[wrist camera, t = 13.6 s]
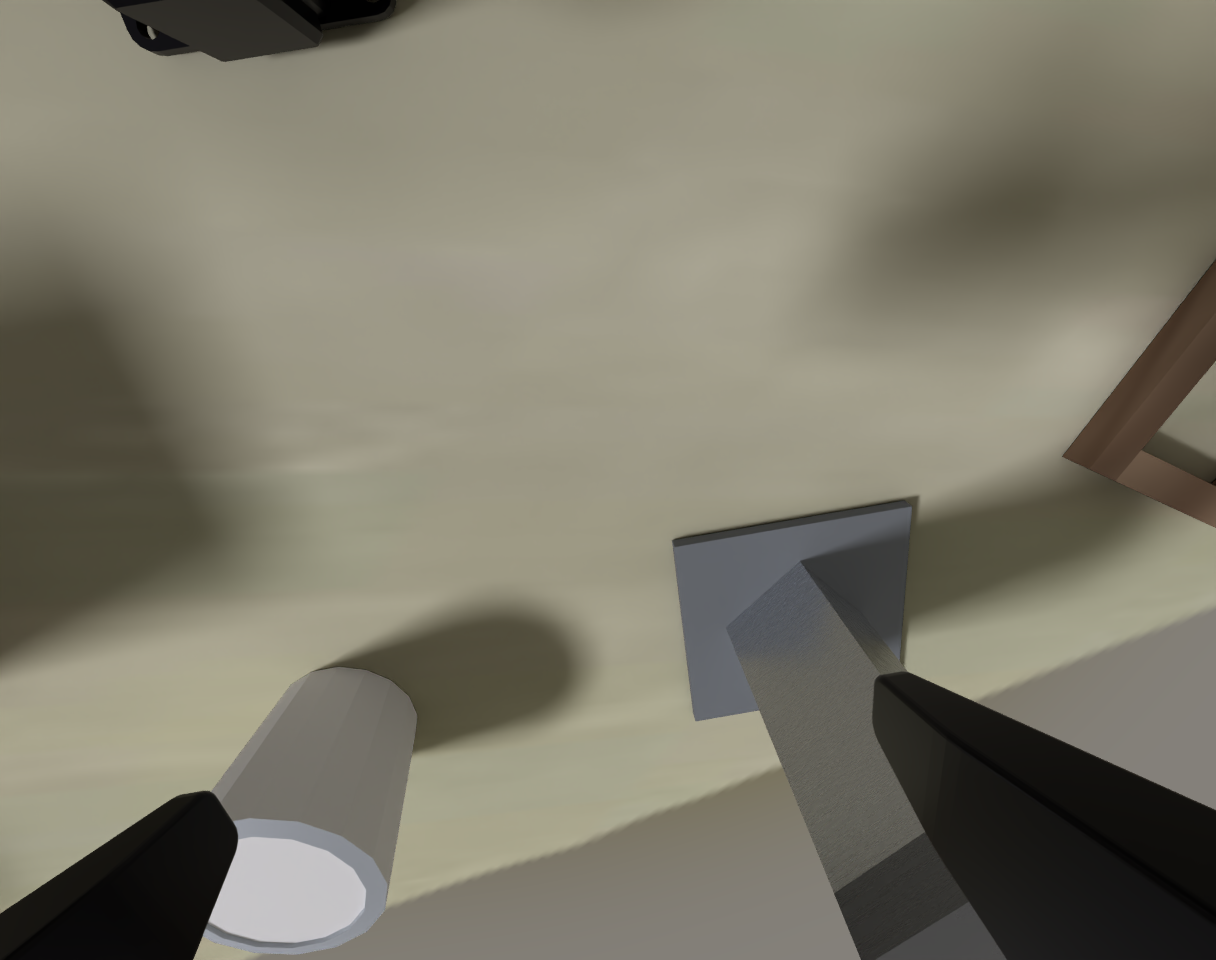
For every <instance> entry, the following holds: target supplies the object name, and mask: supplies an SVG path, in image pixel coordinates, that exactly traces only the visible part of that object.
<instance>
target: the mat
mask: <svg viewBox="0 0 1216 960" xmlns="http://www.w3.org/2000/svg"><path fill="white" fill-rule="evenodd" d="M911 514H912V506H911V505H910V504H908V503H907V502H906V501H899V502H893V503H887V504H881V505H876V506H870V507H864V508H858V509H852V510H846V511H841V512H835V513H829V514H823V515H817V516H811V517H806V518H800V519H794V520H788V521H782V522H777V523H771V524H765V525H759V526H753V527H747V528H742V529H736V530H730V531H724V532H718V533H712V534H707V535H701V536H695V537H689V538H683V539H677V540H672V543H673V551H674V559H675V567H676V576H677V584H678V592H679V600H680V608H681V617H682V625H683V633H684V641H685V649H686V658H687V666H688V674H689V682H690V690H691V699H692V707H693V714H694V717H695V721H700V720H706V719H712V718H717V717H723V716H729V715H735V714H740V713H746V712H752V711H758V710H759V708H758V706H757V703H756V701H755V698H754V696H753V693H752V691H751V689H750V686H749V684H748V681H747V679H746V676H745V674H744V671H743V669H742V666H741V664H740V662H739V659H738V657H737V654H736V652H735V649H734V647H733V644H732V642H731V640H730V637H729V635H728V632H727V630H726V626H728V625H729V624H730V623H731V622H732V621H733V620H734V619H735V618H737V617H738V616H739V615H740V614H741V613H742V612H743V611H744V610H746V609H747V608H748V607H749V606H750V605H751V604H752V603H753V602H754V601H756V600H757V599H758V598H759V597H760V596H761V595H762V594H763V593H765V592H766V591H767V590H768V589H769V588H770V587H771V586H772V585H773V584H775V583H776V582H777V581H778V580H779V579H780V578H781V577H782V576H784V575H785V574H786V573H787V572H788V571H789V570H790V569H791V568H793V567H794V566H795V565H796V564H797V563H798V562H799V561H800V562H801V563H803V564H804V565H805V566H806V567H807V568H809V569H810V570H811V571H812V572H813V573H815V574H816V575H817V576H818V577H819V578H821V579H822V580H823V581H824V582H825V583H827V584H828V585H829V586H830V587H831V588H833V589H834V590H835V591H836V592H837V593H839V594H840V595H841V596H842V597H843V598H845V599H846V600H847V601H848V602H849V603H851V604H852V605H853V606H854V607H855V608H857V609H858V610H859V611H860V612H861V613H863V615H864V616H865V617H866V618H867V620H868V621H869V622H870V624H871V625H872V626H873V627H874V629H875V630H876V631H877V633H878V634H879V635H880V636H881V638H882V639H883V640H884V642H885V643H886V644H887V646H888V647H889V648H890V649H891V651H892V652H893V653H894V655H895V656H896V657H897V658H898V660H899V661H900V649H901V637H902V625H903V612H904V600H905V588H906V575H907V563H908V551H909V539H910V526H911Z"/></svg>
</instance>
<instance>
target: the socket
mask: <svg viewBox="0 0 1216 960" xmlns="http://www.w3.org/2000/svg"><path fill="white" fill-rule="evenodd" d="M1215 361H1216V260H1215V262H1214V263H1213V264H1212V265H1211V267H1210V268H1209V269H1208V271H1207V272H1206V273H1205V274H1204V276H1203V277H1202V278H1201V280H1200V281H1199V282H1198V283H1197V285H1196V286H1195V287H1194V289H1193V290H1192V291H1191V292H1190V294H1189V295H1188V296H1187V298H1186V299H1185V300H1184V301H1183V303H1182V304H1181V305H1180V307H1179V308H1178V309H1177V310H1176V312H1175V313H1174V314H1173V315H1172V317H1171V318H1170V319H1169V321H1168V322H1167V323H1166V324H1165V326H1164V327H1163V328H1162V330H1161V331H1160V332H1159V333H1158V335H1157V336H1156V337H1155V339H1154V340H1153V341H1152V342H1151V344H1150V345H1149V346H1148V348H1147V349H1146V350H1145V351H1144V353H1143V354H1142V355H1141V357H1140V358H1139V359H1138V360H1137V362H1136V363H1135V364H1134V365H1133V367H1132V368H1131V369H1130V371H1129V372H1128V373H1127V374H1126V376H1125V377H1124V378H1123V380H1122V381H1121V382H1120V383H1119V385H1118V386H1117V387H1116V389H1115V390H1114V391H1113V392H1112V394H1111V395H1110V396H1109V398H1108V399H1107V400H1106V401H1105V403H1104V404H1103V405H1102V407H1101V408H1100V409H1099V410H1098V412H1097V413H1096V414H1095V415H1094V417H1093V418H1092V419H1091V421H1090V422H1089V423H1088V424H1087V426H1086V427H1085V428H1084V430H1083V431H1082V432H1081V433H1080V435H1079V436H1078V437H1077V439H1076V440H1075V441H1074V442H1073V444H1072V445H1071V446H1070V448H1069V449H1068V450H1067V451H1066V453H1065V454H1064V455H1063V457H1064V458H1066V459H1069V460H1071V461H1073V462H1075V463H1077V464H1079V465H1081V466H1084V467H1086V468H1088V469H1090V470H1092V471H1094V472H1097V473H1099V474H1101V475H1103V476H1105V477H1107V478H1109V479H1112V480H1114V481H1116V482H1118V483H1120V484H1122V485H1125V486H1127V487H1129V488H1131V489H1133V490H1135V491H1137V492H1140V493H1142V494H1144V495H1146V496H1148V497H1150V498H1153V499H1155V500H1157V501H1159V502H1161V503H1163V504H1165V505H1168V506H1170V507H1172V508H1174V509H1176V510H1178V511H1181V512H1183V513H1185V514H1187V515H1189V516H1191V517H1193V518H1196V519H1198V520H1200V521H1202V522H1204V523H1206V524H1209V525H1211V526H1213V527H1215V528H1216V480H1215V481H1214V482H1213V483H1212V484H1210V483H1208V482H1206V481H1204V480H1202V479H1200V478H1198V477H1195V476H1193V475H1191V474H1189V473H1187V472H1185V471H1183V470H1181V469H1179V468H1177V467H1175V466H1173V465H1171V464H1169V463H1167V462H1165V461H1163V460H1161V459H1159V458H1157V457H1155V456H1152V455H1150V454H1148V453H1146V452H1144V451H1142V449H1143V447H1144V446H1145V445H1146V444H1147V443H1148V441H1149V440H1150V439H1151V438H1152V437H1153V435H1154V434H1155V433H1156V432H1157V431H1158V429H1159V428H1160V427H1161V426H1162V425H1163V423H1164V422H1165V421H1166V420H1167V419H1168V417H1169V416H1170V415H1171V414H1172V413H1173V411H1174V410H1175V409H1176V408H1177V407H1178V405H1179V404H1180V403H1181V402H1182V401H1183V399H1184V398H1185V397H1186V396H1187V395H1188V393H1189V392H1190V391H1191V390H1192V389H1193V387H1194V386H1195V385H1196V384H1197V383H1198V381H1199V380H1200V379H1201V378H1202V377H1203V375H1204V374H1205V373H1206V372H1207V371H1208V369H1209V368H1210V367H1211V366H1212V365H1213V363H1214V362H1215Z"/></svg>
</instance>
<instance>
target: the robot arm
mask: <svg viewBox="0 0 1216 960" xmlns="http://www.w3.org/2000/svg"><path fill="white" fill-rule="evenodd" d="M103 1H104V2H105V3H107V4H108V5H109V6H111V7H112V8H114V9H115V10H116V11H118V12H120V13H121V16H122V18H123V21H124V23H125V26H126V28H127V30H128V32H129V34H130V35H131V37H132V39H133V40H134V41H135V42H136V43H137V44H138V45H139V46H140V47H142V48H144V49H146V50H148V51H150V52H153V53H155V54H157V55H161V56H171V55H177V54H183V53H189V52H195V51H201V52H204V53H206V54H208V55H210V56H212V57H214V58H216V59H218V60H220V61H223V62H227V61H233V60H239V59H245V58H251V57H257V56H263V55H269V54H275V53H281V52H287V51H293V50H299V49H305V48H311V47H317V46H318V45H319V43H320V41H321V40H322V38H323V32H322V30H327V29H333V28H339V27H345V26H351V25H357V24H363V23H369V22H375V21H381V20H384V19H386V18H389V17H390V15H391V14H392V13H393V12H394V9H395V5H396V0H379V1H377V2H375V3H371V2H368V1H367V0H103ZM147 25H148V26H150V27H152V28H154V29H156V30H158V31H159V34H158V37H157V38H155V39H153V40H152V39H151V37H150V36H149V34H148V31H147ZM872 724H873V729H874V733H875V735H876V738H877V740H878V742H879V744H880V746H881V748H882V750H883V752H884V754H885V756H886V758H887V760H888V762H889V764H890V766H891V768H892V769H893V771H894V773H895V775H896V777H897V779H898V781H899V783H900V785H901V787H902V789H903V791H904V793H905V794H906V796H907V798H908V800H909V802H910V804H911V806H912V808H913V810H914V812H915V814H916V816H917V818H918V819H919V821H920V823H921V825H922V827H923V829H924V831H925V833H926V834H927V836H928V838H929V840H930V842H931V843H932V845H933V847H934V848H935V850H936V852H937V853H938V855H939V856H940V858H941V860H942V861H943V863H944V865H945V866H946V868H947V869H948V871H949V872H950V874H951V875H952V877H953V878H954V880H955V881H956V883H957V884H958V886H959V887H960V889H961V890H962V892H963V894H964V895H965V897H966V898H967V900H968V901H969V903H970V904H971V906H972V907H973V909H974V910H975V912H976V913H977V915H978V916H979V918H980V920H981V921H982V923H983V924H984V926H985V927H986V929H987V930H988V932H989V933H990V935H991V936H992V938H993V939H994V941H995V942H996V944H997V946H998V947H999V949H1000V950H1001V952H1002V953H1003V955H1004V956H1005V958H1006V959H1007V960H1216V810H1214V809H1212V808H1210V807H1208V806H1205V805H1203V804H1201V803H1199V802H1197V801H1194V800H1192V799H1190V798H1188V797H1185V796H1183V795H1181V794H1179V793H1177V792H1174V791H1172V790H1170V789H1167V788H1165V787H1163V786H1161V785H1159V784H1157V783H1154V782H1152V781H1150V780H1148V779H1145V778H1143V777H1141V776H1139V775H1136V774H1134V773H1132V772H1130V771H1128V770H1125V769H1123V768H1121V767H1119V766H1116V765H1114V764H1112V763H1110V762H1108V761H1105V760H1103V759H1101V758H1099V757H1096V756H1094V755H1092V754H1090V753H1087V752H1085V751H1083V750H1081V749H1079V748H1076V747H1074V746H1072V745H1070V744H1067V743H1065V742H1063V741H1061V740H1059V739H1056V738H1054V737H1052V736H1050V735H1047V734H1045V733H1043V732H1041V731H1038V730H1036V729H1034V728H1032V727H1030V726H1027V725H1025V724H1023V723H1021V722H1019V721H1016V720H1014V719H1012V718H1009V717H1007V716H1005V715H1003V714H1001V713H999V712H996V711H994V710H992V709H990V708H987V707H985V706H983V705H981V704H978V703H976V702H974V701H972V700H970V699H967V698H965V697H963V696H961V695H958V694H956V693H954V692H952V691H950V690H947V689H945V688H943V687H941V686H938V685H936V684H934V683H932V682H930V681H927V680H925V679H923V678H921V677H918V676H916V675H914V674H912V673H909V672H905V671H901V672H895V673H889V674H883V675H879V676H878V677H877V678H876V679H875V681H874V691H873V708H872ZM237 845H238V831H237V828H236V826H235V824H234V822H233V821H232V819H231V818H230V816H229V815H228V813H227V812H226V810H225V809H224V807H223V806H222V804H221V803H220V801H219V800H218V798H217V796H216V795H215V794H214V793H212V792H210V791H199V792H194V793H188V794H182V795H179V796H176V797H175V798H173V799H171V800H169V801H168V802H166V803H165V804H163V805H162V806H160V807H159V808H157V809H156V810H154V811H153V812H151V813H150V814H148V815H147V816H145V817H144V818H142V819H141V820H139V821H138V822H136V823H135V824H133V825H132V826H130V827H129V828H127V829H126V830H124V831H123V832H121V833H120V834H118V835H117V836H116V837H114V838H113V839H111V840H110V841H108V842H107V843H105V844H104V845H102V846H101V847H99V848H98V849H96V850H95V851H93V852H92V853H90V854H89V855H87V856H86V857H84V858H83V859H81V860H80V861H78V862H77V863H75V864H74V865H72V866H71V867H69V868H68V869H66V870H65V871H63V872H62V873H60V874H59V875H57V876H56V877H54V878H53V879H51V880H50V881H48V882H47V883H45V884H44V885H42V886H41V887H39V888H38V889H36V890H35V891H33V892H32V893H30V894H29V895H27V896H26V897H24V898H23V899H21V900H20V901H18V902H17V903H15V904H14V905H12V906H11V907H9V908H8V909H6V910H5V911H3V912H2V913H0V960H193V959H194V956H195V954H196V952H197V949H198V947H199V944H200V941H201V939H202V936H203V934H204V931H205V929H206V926H207V924H208V921H209V919H210V916H211V914H212V911H213V909H214V906H215V904H216V901H217V899H218V896H219V894H220V891H221V889H222V886H223V884H224V881H225V879H226V876H227V873H228V871H229V868H230V866H231V863H232V861H233V858H234V856H235V853H236V850H237Z"/></svg>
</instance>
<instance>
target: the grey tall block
mask: <svg viewBox="0 0 1216 960" xmlns="http://www.w3.org/2000/svg"><path fill="white" fill-rule="evenodd" d="M726 630H727V632H728V635H729V637H730V640H731V642H732V644H733V647H734V649H735V652H736V654H737V657H738V659H739V662H740V664H741V666H742V669H743V671H744V674H745V676H746V679H747V681H748V684H749V686H750V689H751V691H752V693H753V696H754V698H755V701H756V703H757V706H758V708H759V711H760V713H761V716H762V718H763V720H764V723H765V725H766V728H767V730H768V733H769V735H770V738H771V740H772V743H773V745H774V747H775V750H776V752H777V755H778V757H779V760H780V762H781V765H782V767H783V769H784V772H785V774H786V777H787V779H788V782H789V784H790V787H791V789H792V792H793V794H794V796H795V799H796V801H797V804H798V806H799V809H800V811H801V814H802V816H803V819H804V821H805V823H806V826H807V828H808V831H809V833H810V836H811V838H812V841H813V843H814V845H815V848H816V850H817V853H818V855H819V857H820V860H821V863H822V865H823V868H824V870H825V872H826V875H827V877H828V880H829V882H830V885H831V887H832V889H833V892H834V895H835V897H836V899H837V902H838V904H839V907H840V909H841V911H842V914H843V917H844V919H845V921H846V924H847V926H848V929H849V931H850V934H851V936H852V938H853V941H854V943H855V946H856V948H857V951H858V953H859V956H860V958H861V960H1007V959H1006V958H1005V956H1004V955H1003V953H1002V952H1001V950H1000V949H999V947H998V946H997V944H996V942H995V941H994V939H993V938H992V936H991V935H990V933H989V932H988V930H987V929H986V927H985V926H984V924H983V923H982V921H981V920H980V918H979V916H978V915H977V913H976V912H975V910H974V909H973V907H972V906H971V904H970V903H969V901H968V900H967V898H966V897H965V895H964V894H963V892H962V890H961V889H960V887H959V886H958V884H957V883H956V881H955V880H954V878H953V877H952V875H951V874H950V872H949V871H948V869H947V868H946V866H945V865H944V863H943V861H942V860H941V858H940V856H939V855H938V853H937V852H936V850H935V848H934V847H933V845H932V843H931V842H930V840H929V838H928V836H927V834H926V833H925V831H924V829H923V827H922V825H921V823H920V821H919V819H918V818H917V816H916V814H915V812H914V810H913V808H912V806H911V804H910V802H909V800H908V798H907V796H906V794H905V793H904V791H903V789H902V787H901V785H900V783H899V781H898V779H897V777H896V775H895V773H894V771H893V769H892V768H891V766H890V764H889V762H888V760H887V758H886V756H885V754H884V752H883V750H882V748H881V746H880V744H879V742H878V740H877V738H876V735H875V733H874V729H873V724H872V708H873V691H874V681H875V679H876V678H877V677H878V676H879V675H883V674H889V673H895V672H901V671H905V672H908V671H907V670H906V669H905V667H904V666H903V665H902V664H901V662H900V661H899V660H898V658H897V657H896V656H895V655H894V653H893V652H892V651H891V649H890V648H889V647H888V646H887V644H886V643H885V642H884V640H883V639H882V638H881V636H880V635H879V634H878V633H877V631H876V630H875V629H874V627H873V626H872V625H871V624H870V622H869V621H868V620H867V618H866V617H865V616H864V615H863V613H861V612H860V611H859V610H858V609H857V608H855V607H854V606H853V605H852V604H851V603H849V602H848V601H847V600H846V599H845V598H843V597H842V596H841V595H840V594H839V593H837V592H836V591H835V590H834V589H833V588H831V587H830V586H829V585H828V584H827V583H825V582H824V581H823V580H822V579H821V578H819V577H818V576H817V575H816V574H815V573H813V572H812V571H811V570H810V569H809V568H807V567H806V566H805V565H804V564H803V563H801V562H800V561H799V562H798V563H797V564H796V565H795V566H794V567H793V568H791V569H790V570H789V571H788V572H787V573H786V574H785V575H784V576H782V577H781V578H780V579H779V580H778V581H777V582H776V583H775V584H773V585H772V586H771V587H770V588H769V589H768V590H767V591H766V592H765V593H763V594H762V595H761V596H760V597H759V598H758V599H757V600H756V601H754V602H753V603H752V604H751V605H750V606H749V607H748V608H747V609H746V610H744V611H743V612H742V613H741V614H740V615H739V616H738V617H737V618H735V619H734V620H733V621H732V622H731V623H730V624H729V625H728V626H726Z"/></svg>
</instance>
